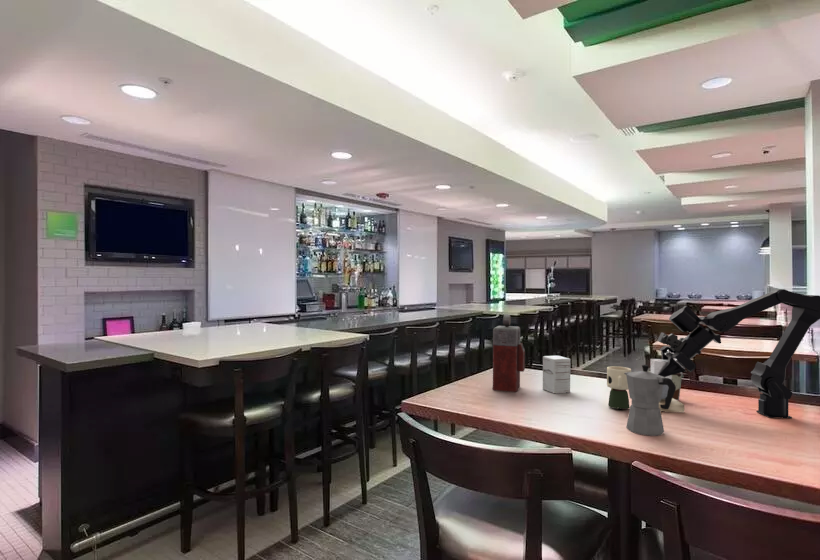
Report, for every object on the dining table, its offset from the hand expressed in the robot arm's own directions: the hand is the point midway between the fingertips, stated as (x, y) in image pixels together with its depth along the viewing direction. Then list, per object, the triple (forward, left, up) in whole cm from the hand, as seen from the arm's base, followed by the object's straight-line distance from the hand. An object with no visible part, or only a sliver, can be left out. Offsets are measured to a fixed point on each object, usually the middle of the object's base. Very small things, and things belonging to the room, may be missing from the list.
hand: (656, 375), depth 149 cm
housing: (-1, 0, -7) cm, 7 cm away
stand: (-1, 0, -10) cm, 10 cm away
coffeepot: (+13, +26, -11) cm, 31 cm away
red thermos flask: (+45, -20, -10) cm, 50 cm away
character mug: (+13, +3, -11) cm, 17 cm away
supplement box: (+28, -19, -11) cm, 35 cm away
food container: (-7, -14, -11) cm, 19 cm away
